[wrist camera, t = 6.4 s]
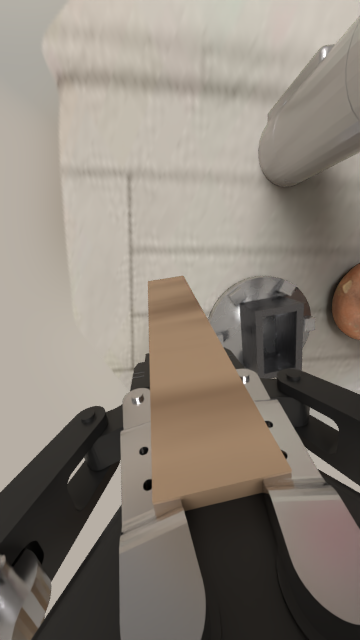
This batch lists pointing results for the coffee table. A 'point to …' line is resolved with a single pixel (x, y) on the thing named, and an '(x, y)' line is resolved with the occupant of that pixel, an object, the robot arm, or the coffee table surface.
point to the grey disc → (263, 324)
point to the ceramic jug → (348, 303)
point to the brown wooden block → (200, 409)
